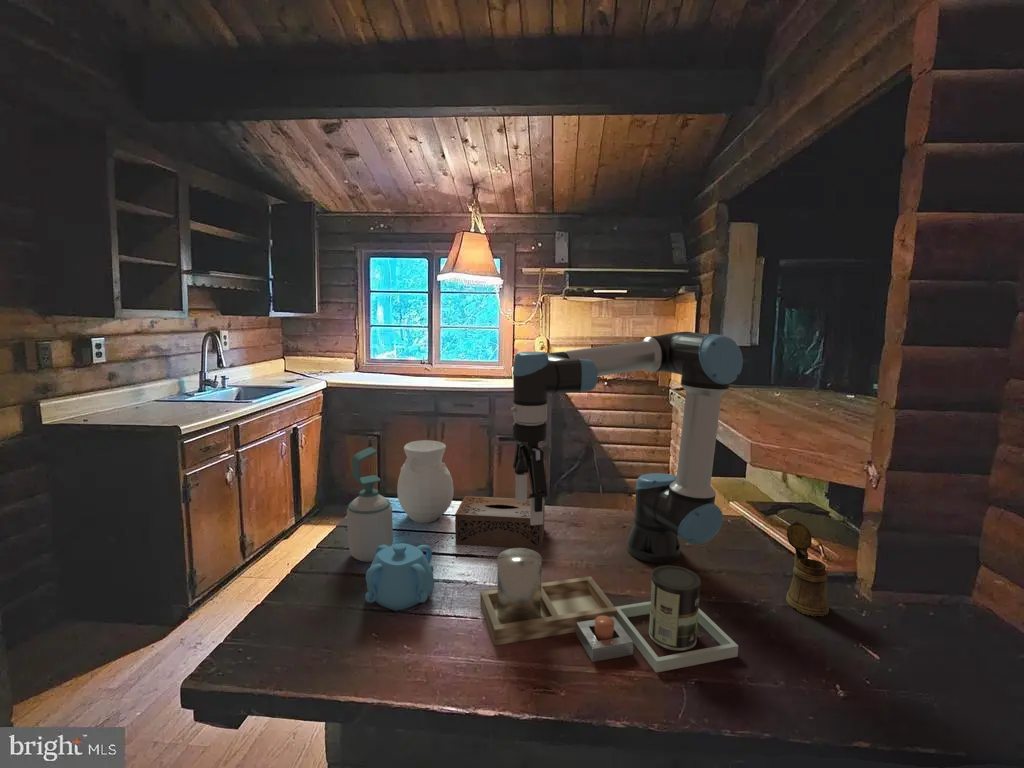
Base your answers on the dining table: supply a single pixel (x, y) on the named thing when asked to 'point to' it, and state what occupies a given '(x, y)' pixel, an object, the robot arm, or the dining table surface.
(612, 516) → the dining table surface
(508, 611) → the grey rounded cylinder piece
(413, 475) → the white vase
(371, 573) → the decorative pot
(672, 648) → the coffee can
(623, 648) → the button housing
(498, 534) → the tissue box cover
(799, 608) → the wooden mug
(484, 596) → the divided wooden tray
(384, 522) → the soap bottle
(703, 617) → the white square frame
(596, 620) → the button
